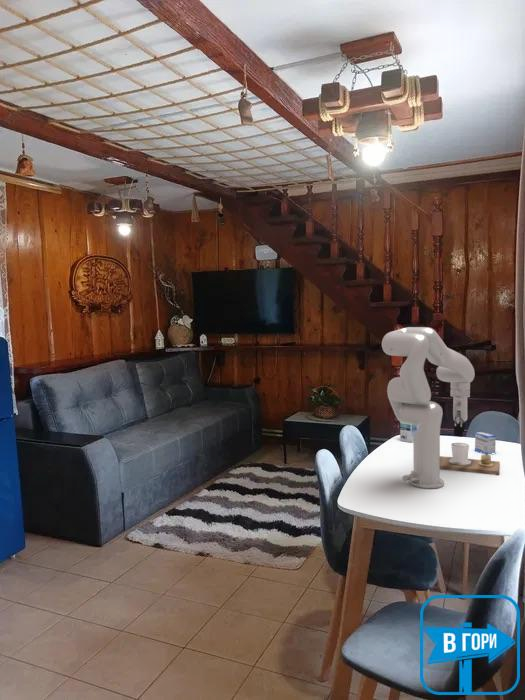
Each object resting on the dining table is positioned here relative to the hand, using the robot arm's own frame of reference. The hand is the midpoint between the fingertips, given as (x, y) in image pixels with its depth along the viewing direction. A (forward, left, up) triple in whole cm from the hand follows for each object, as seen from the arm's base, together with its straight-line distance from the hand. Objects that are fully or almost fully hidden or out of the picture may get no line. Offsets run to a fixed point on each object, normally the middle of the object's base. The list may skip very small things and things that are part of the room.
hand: (459, 433), depth 218 cm
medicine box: (+25, +12, -14) cm, 31 cm away
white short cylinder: (+1, 0, -12) cm, 12 cm away
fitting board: (+3, -2, -14) cm, 14 cm away
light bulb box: (+9, +45, -14) cm, 48 cm away
